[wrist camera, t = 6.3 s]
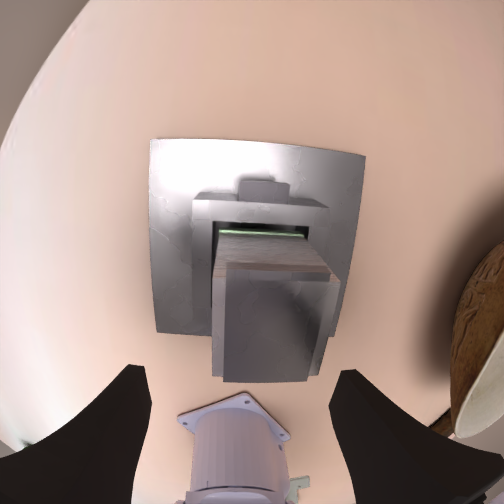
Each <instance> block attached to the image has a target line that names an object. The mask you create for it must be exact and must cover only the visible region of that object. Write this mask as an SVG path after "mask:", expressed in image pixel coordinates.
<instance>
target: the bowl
mask: <svg viewBox="0 0 504 504" xmlns="http://www.w3.org/2000/svg"><path fill="white" fill-rule="evenodd" d="M450 374H451V385H450V396H451V421H452V427H453V432H454V434H455V435H456V436H457V437H458V438H466V437H470V436H473V435H475V434H477V433H479V432H481V431H483V430H484V429H486V428H487V427H488V426H490V425H491V424H493V423H494V422H495V421H496V420H498V419H499V418H500V417H501V416H502V415H504V241H502V242H501V243H500V244H498V245H497V246H496V247H494V248H493V249H492V250H491V251H490V252H489V253H488V254H487V255H486V256H485V257H484V259H483V260H482V261H481V262H480V263H479V265H478V266H477V267H476V269H475V270H474V272H473V274H472V276H471V277H470V279H469V281H468V282H467V284H466V286H465V288H464V291H463V293H462V295H461V298H460V300H459V303H458V306H457V310H456V314H455V319H454V324H453V335H452V345H451V359H450Z"/></svg>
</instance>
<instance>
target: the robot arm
mask: <svg viewBox="0 0 504 504" xmlns="http://www.w3.org/2000/svg"><path fill="white" fill-rule="evenodd" d="M247 400H249V401H247ZM151 406H152V401H151V396H150V392H149V388H148V383H147V378H146V373H145V368H144V366H138V365H131V364H128V365H127V366H126V367H125V368H124V369H123V370H122V371H121V372H120V373H119V374H118V376H117V377H116V378H115V379H114V380H113V381H112V382H111V383H110V384H109V385H108V386H107V387H106V388H105V389H104V390H103V391H102V392H101V393H100V394H99V395H98V396H97V397H96V398H95V399H94V400H93V401H92V402H91V403H90V404H89V405H88V406H87V407H86V408H84V409H83V410H82V411H81V412H80V413H79V414H78V415H77V416H75V417H74V418H73V419H72V420H70V421H69V422H68V423H67V424H65V425H64V426H62V427H61V428H60V429H58V430H57V431H55V432H54V433H52V434H51V435H49V436H47V437H46V438H44V439H43V440H41V441H39V442H37V443H36V444H34V445H32V446H30V447H27V448H25V449H23V450H21V451H19V452H16V453H14V454H11V455H9V456H6V457H3V458H0V504H131V498H132V490H133V482H134V476H135V472H136V468H137V464H138V461H139V457H140V453H141V450H142V446H143V443H144V439H145V436H146V432H147V429H148V425H149V419H150V413H151ZM329 410H330V415H331V420H332V424H333V428H334V431H335V434H336V437H337V440H338V442H339V445H340V448H341V451H342V453H343V456H344V459H345V461H346V464H347V467H348V470H349V473H350V476H351V480H352V484H353V489H354V494H355V499H356V504H484V503H483V501H484V500H486V498H487V497H486V495H485V492H486V491H487V490H488V489H490V488H491V487H492V486H493V485H494V484H495V483H497V482H498V481H499V480H500V479H501V478H502V477H503V476H504V459H503V457H502V456H501V454H496V453H492V452H487V451H483V450H478V449H475V448H472V447H469V446H466V445H463V444H461V443H458V442H456V441H453V440H451V439H449V438H447V437H445V436H443V435H441V434H439V433H437V432H435V431H433V430H432V429H430V428H428V427H427V426H425V425H423V424H422V423H420V422H419V421H417V420H416V419H414V418H413V417H412V416H410V415H409V414H407V413H406V412H405V411H403V410H402V409H401V408H400V407H398V406H397V405H396V404H395V403H393V402H392V401H391V400H390V399H389V398H388V397H386V396H385V395H384V394H383V393H382V392H381V391H380V390H378V389H377V388H376V387H375V386H374V385H373V384H372V383H371V382H370V381H368V380H367V379H366V378H365V377H364V376H363V375H362V374H361V373H360V372H358V371H357V370H356V369H353V370H342V371H341V373H340V376H339V379H338V382H337V384H336V387H335V390H334V393H333V395H332V398H331V401H330V403H329ZM177 421H178V422H179V423H180V424H181V425H183V426H184V427H185V428H186V429H188V430H189V431H190V432H192V433H193V434H194V435H195V437H194V449H193V461H192V474H191V488H190V491H187V492H186V500H185V501H184V500H178V501H176V503H174V504H295V502H293V501H291V500H288V501H285V499H286V497H287V495H288V493H289V490H290V479H289V473H288V467H287V462H286V456H285V451H284V445H283V442H285V441H287V440H289V439H290V438H291V436H290V434H289V433H288V432H287V431H285V430H284V429H283V428H282V427H281V426H280V425H279V424H278V423H277V422H276V421H275V420H274V419H273V418H272V417H271V416H270V415H269V414H268V413H267V412H266V411H265V410H264V409H263V408H262V407H261V406H260V405H259V404H258V403H257V402H256V401H255V400H254V399H253V398H252V397H251V396H250V395H249V394H248V393H241V394H239V395H236V396H234V397H231V398H228V399H226V400H223V401H221V402H218V403H215V404H212V405H210V406H207V407H204V408H201V409H198V410H195V411H192V412H189V413H186V414H183V415H180V416H178V417H177ZM487 504H504V491H503V492H502V493H500V494H499V495H498V496H497V497H495V498H494V499H493V500H491V501H490V502H489V503H487Z"/></svg>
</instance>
